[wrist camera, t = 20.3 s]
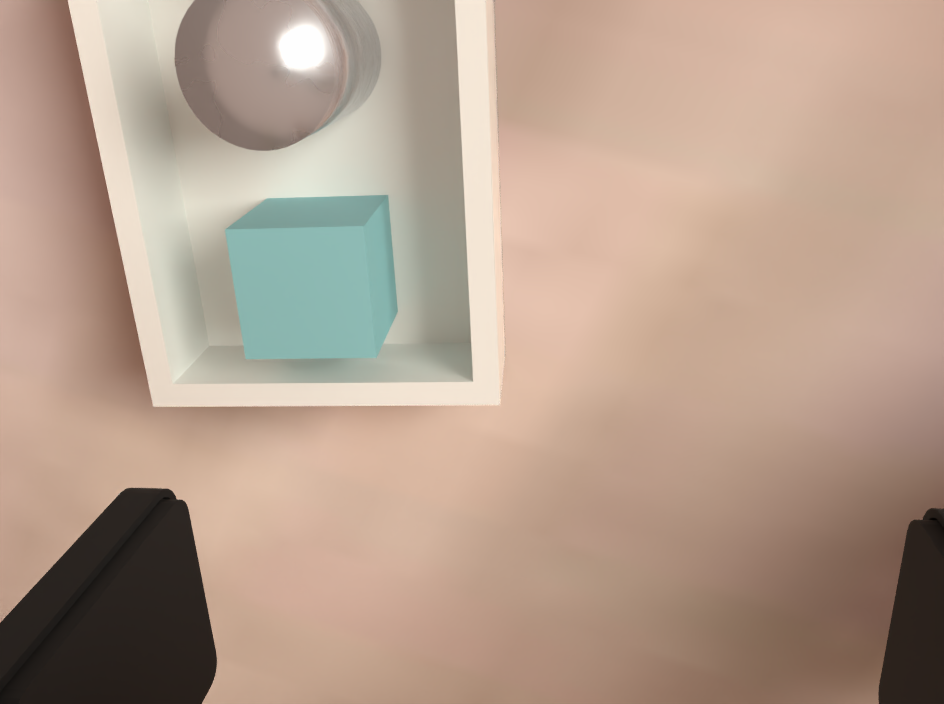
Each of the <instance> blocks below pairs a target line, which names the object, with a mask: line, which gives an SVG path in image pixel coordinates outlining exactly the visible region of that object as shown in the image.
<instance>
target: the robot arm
mask: <svg viewBox="0 0 944 704" xmlns="http://www.w3.org/2000/svg"><path fill="white" fill-rule="evenodd" d="M216 666H217V657H216V650H215V645H214V640H213V634H212V629H211V624H210V619H209V614H208V608H207V603H206V598H205V593H204V588H203V583H202V577H201V572H200V567H199V562H198V557H197V551H196V546H195V541H194V536H193V531H192V526H191V520H190V515H189V510H188V507H187V504H186V503H185V501H183V500H177V499H176V496H175V495H174V493H173V492H172V491H171V490H169V489H156V488H127V489H125V490H124V491H122V492H121V493H120V494H119V495H118V496H117V497H116V499H115V500H114V501H113V502H112V503H111V504H110V505H109V506H108V507H107V508H106V509H105V510H104V512H103V513H102V514H101V515H100V516H99V517H98V518H97V519H96V520H95V521H94V522H93V523H92V524H91V526H90V527H89V528H88V529H87V530H86V531H85V532H84V533H83V534H82V535H81V536H80V537H79V538H78V540H77V541H76V542H75V543H74V544H73V545H72V546H71V547H70V548H69V549H68V550H67V551H66V553H65V554H64V555H63V556H62V557H61V558H60V559H59V560H58V561H57V562H56V563H55V564H54V565H53V567H52V568H51V569H50V570H49V571H48V572H47V573H46V574H45V575H44V576H43V577H42V578H41V580H40V581H39V582H38V583H37V584H36V585H35V586H34V587H33V588H32V589H31V590H30V591H29V592H28V594H27V595H26V596H25V597H24V598H23V599H22V600H21V601H20V602H19V603H18V604H17V605H16V606H15V608H14V609H13V610H12V611H11V612H10V613H9V614H8V615H7V616H6V617H5V618H4V619H3V621H2V622H1V623H0V704H202V702H203V700H204V698H205V696H206V695H207V693H208V691H209V689H210V687H211V685H212V683H213V680H214V677H215V673H216ZM879 704H944V509H936V508H931V509H929V510H928V511H927V512H926V513H925V515H924V517H923V520H913V521H911V523H910V524H909V527H908V530H907V535H906V541H905V546H904V552H903V557H902V563H901V569H900V574H899V580H898V585H897V591H896V596H895V602H894V607H893V613H892V618H891V624H890V629H889V635H888V640H887V646H886V651H885V657H884V662H883V668H882V673H881V679H880V684H879Z"/></svg>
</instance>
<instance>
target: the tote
mask: <svg viewBox="0 0 944 704" xmlns="http://www.w3.org/2000/svg"><path fill="white" fill-rule="evenodd" d="M357 1H358V2H359V3H360V4H361V5H362V6H363V8H364V9H365V10H366V12H367V13H368V14H369V16H370V18H371V19H372V21H373V23H374V25H375V28H376V30H377V33H378V37H379V40H380V46H381V68H380V73H379V77H378V80H377V83H376V86H375V88H374V90H373V92H372V93H371V95H370V96H369V98H368V99H367V100H366V101H365V102H364V104H363V105H362V106H360V107H359V108H358V109H357V110H356V111H354V112H352V113H351V114H349V115H347V116H346V117H344V118H342V119H340V120H338V121H336V122H334V123H333V124H331V125H329V126H327V127H325V128H323V129H321V130H319V131H318V132H316V133H314V134H312V135H310V136H308V137H306V138H305V139H303V140H301V141H299V142H297V143H295V144H293V145H290V146H288V147H285V148H282V149H278V150H270V151H256V150H249V149H245V148H241V147H238V146H235V145H233V144H231V143H228V142H226V141H225V140H223V139H221V138H219V137H218V136H217V135H215V134H214V133H213V132H211V131H210V130H209V129H208V128H207V127H206V126H205V125H204V124H202V122H201V121H200V120H199V119H198V118H197V117H196V115H195V114H194V113H193V111H192V110H191V108H190V107H189V105H188V103H187V101H186V99H185V97H184V96H183V93H182V90H181V88H180V85H179V82H178V78H177V74H176V67H175V42H176V37H177V33H178V29H179V26H180V23H181V21H182V19H183V17H184V15H185V13H186V11H187V10H188V8H189V7H190V6H191V4H192V3H193V2H194V0H68V4H69V9H70V14H71V19H72V23H73V28H74V33H75V38H76V42H77V47H78V52H79V57H80V61H81V66H82V71H83V76H84V80H85V85H86V90H87V95H88V99H89V104H90V109H91V114H92V118H93V123H94V128H95V133H96V137H97V142H98V147H99V152H100V156H101V161H102V166H103V170H104V175H105V180H106V185H107V189H108V194H109V199H110V204H111V208H112V213H113V218H114V223H115V227H116V232H117V237H118V242H119V246H120V251H121V256H122V261H123V265H124V270H125V275H126V280H127V284H128V289H129V294H130V299H131V303H132V308H133V313H134V318H135V322H136V327H137V332H138V337H139V341H140V346H141V351H142V356H143V360H144V365H145V370H146V374H147V379H148V384H149V389H150V393H151V398H152V403H153V407H225V406H422V405H500V400H501V391H502V381H503V372H504V363H505V328H504V297H503V265H502V234H501V202H500V171H499V139H498V107H497V76H496V44H495V13H494V0H357ZM366 195H388V199H389V211H390V223H391V235H392V247H393V259H394V271H395V283H396V295H397V307H398V312H397V315H396V317H395V319H394V321H393V323H392V325H391V328H390V330H389V332H388V334H387V336H386V338H385V341H384V343H383V345H382V347H381V349H380V351H379V354H378V356H377V358H317V359H246V358H245V352H244V346H243V340H242V333H241V327H240V321H239V315H238V308H237V302H236V296H235V290H234V284H233V277H232V271H231V265H230V259H229V252H228V246H227V240H226V234H225V229H226V228H228V227H229V226H230V225H232V224H233V223H234V222H236V221H237V220H238V219H240V218H241V217H242V216H244V215H245V214H247V213H248V212H249V211H251V210H252V209H253V208H255V207H256V206H257V205H259V204H260V203H261V202H263V201H264V200H266V199H267V198H295V197H331V196H366Z"/></svg>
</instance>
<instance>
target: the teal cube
mask: <svg viewBox="0 0 944 704" xmlns="http://www.w3.org/2000/svg"><path fill="white" fill-rule="evenodd" d="M225 234H226V240H227V246H228V252H229V259H230V265H231V271H232V277H233V284H234V290H235V296H236V302H237V308H238V315H239V321H240V327H241V333H242V340H243V346H244V352H245V358H246V359H317V358H377V356H378V354H379V351H380V349H381V347H382V345H383V343H384V341H385V338H386V336H387V334H388V332H389V330H390V328H391V325H392V323H393V321H394V319H395V317H396V315H397V312H398V307H397V295H396V283H395V271H394V259H393V247H392V235H391V223H390V211H389V199H388V195H366V196H331V197H295V198H267V199H266V200H264V201H263V202H261V203H260V204H259V205H257V206H256V207H255V208H253V209H252V210H251V211H249V212H248V213H247V214H245V215H244V216H242V217H241V218H240V219H238V220H237V221H236V222H234V223H233V224H232V225H230V226H229V227H228V228H226V229H225Z"/></svg>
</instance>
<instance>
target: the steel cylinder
mask: <svg viewBox="0 0 944 704" xmlns="http://www.w3.org/2000/svg"><path fill="white" fill-rule="evenodd" d="M175 67H176V74H177V78H178V82H179V85H180V88H181V90H182V93H183V96H184V97H185V99H186V101H187V103H188V105H189V107H190V108H191V110H192V111H193V113H194V114H195V115H196V117H197V118H198V119H199V120H200V121H201V122H202V124H204V125H205V126H206V127H207V128H208V129H209V130H210V131H211V132H213V133H214V134H215V135H217V136H218V137H219V138H221V139H223V140H225V141H226V142H228V143H231V144H233V145H235V146H238V147H241V148H245V149H249V150H256V151H270V150H278V149H282V148H285V147H288V146H290V145H293V144H295V143H297V142H299V141H301V140H303V139H305V138H306V137H308V136H310V135H312V134H314V133H316V132H318V131H319V130H321V129H323V128H325V127H327V126H329V125H331V124H333V123H334V122H336V121H338V120H340V119H342V118H344V117H346V116H347V115H349V114H351V113H352V112H354V111H356V110H357V109H358V108H359V107H360V106H362V105H363V104H364V102H365V101H366V100H367V99H368V98H369V96H370V95H371V93H372V92H373V90H374V88H375V86H376V83H377V80H378V77H379V73H380V68H381V46H380V40H379V37H378V33H377V30H376V28H375V25H374V23H373V21H372V19H371V18H370V16H369V14H368V13H367V12H366V10H365V9H364V8H363V6H362V5H361V4H360V3H359V2H358V1H357V0H194V2H193V3H192V4H191V6H190V7H189V8H188V10H187V11H186V13H185V15H184V17H183V19H182V21H181V23H180V26H179V29H178V33H177V37H176V42H175Z"/></svg>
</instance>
